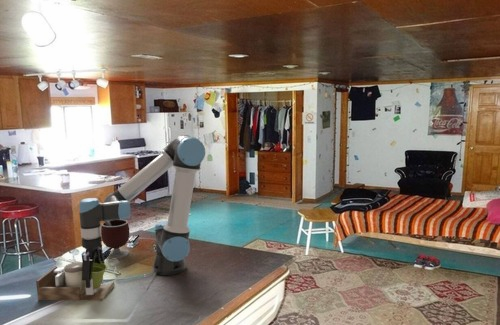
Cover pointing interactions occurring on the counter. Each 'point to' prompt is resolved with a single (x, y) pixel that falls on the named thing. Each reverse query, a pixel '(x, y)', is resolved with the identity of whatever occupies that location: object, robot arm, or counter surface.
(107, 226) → the mate gourd
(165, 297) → the counter surface
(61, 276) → the pusher
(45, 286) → the wooden organizer tray
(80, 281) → the cream jar
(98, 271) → the plant pot
